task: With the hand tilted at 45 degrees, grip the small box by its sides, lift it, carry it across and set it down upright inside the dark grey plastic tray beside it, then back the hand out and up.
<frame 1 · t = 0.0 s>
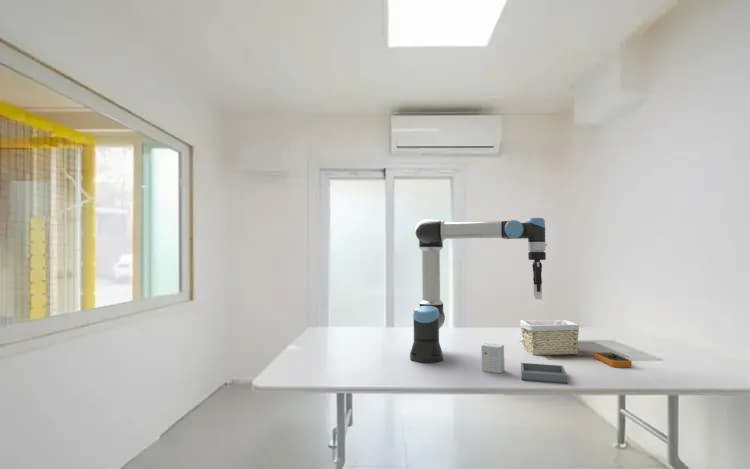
hand: (537, 297, 198), 28 cm above the table, tool pointing down, fingers open, 13 cm apart
tray: (542, 376, 169), on the table
storage basket: (549, 352, 212), on the table
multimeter: (612, 364, 191), on the table
small box: (493, 371, 178), on the table
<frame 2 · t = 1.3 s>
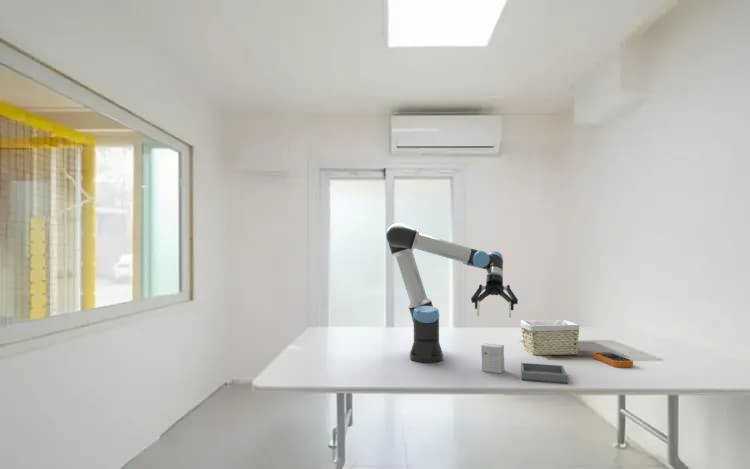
hand: (493, 314, 190), 21 cm above the table, tool tilted 45°, fingers open, 13 cm apart
nothing on the table moved.
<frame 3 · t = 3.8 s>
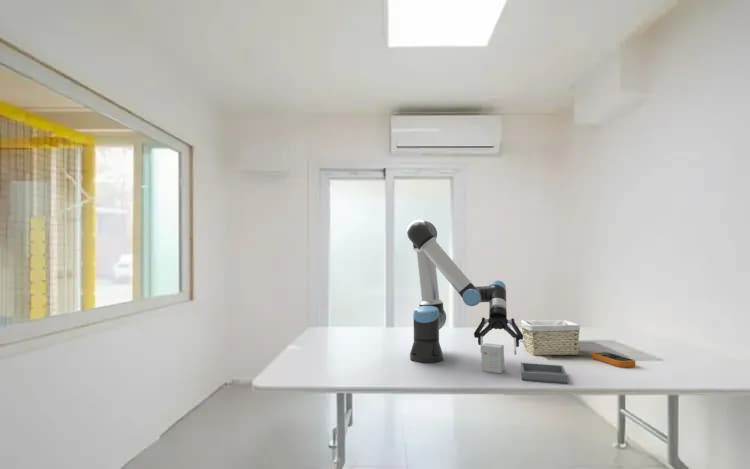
hand: (498, 352, 180), 7 cm above the table, tool tilted 45°, fingers open, 13 cm apart
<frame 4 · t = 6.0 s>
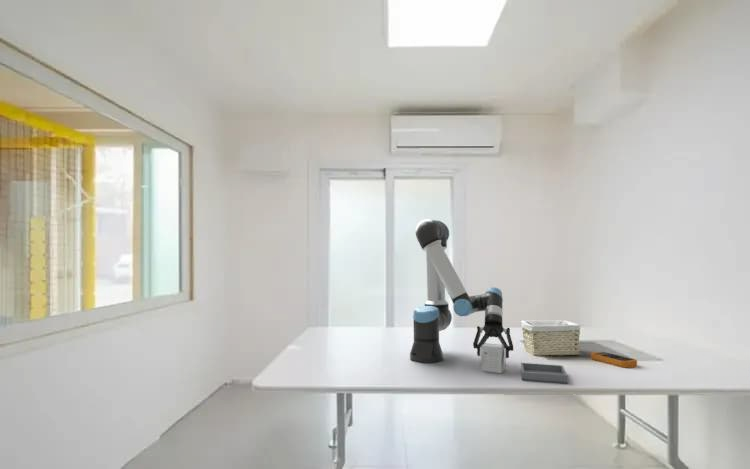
hand: (492, 363, 175), 4 cm above the table, tool tilted 45°, fingers closed on small box, 9 cm apart
small box: (493, 371, 178), on the table, touching gripper
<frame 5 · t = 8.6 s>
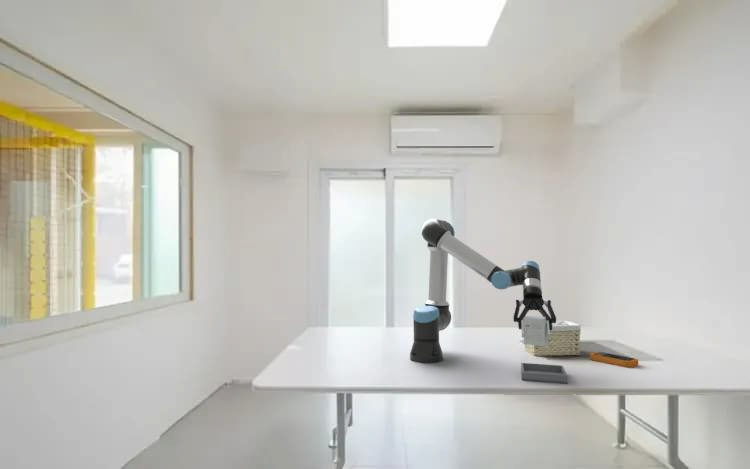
hand: (535, 335, 168), 16 cm above the table, tool tilted 45°, fingers closed on small box, 9 cm apart
small box: (535, 344, 171), point 12 cm above the table, touching gripper
when the fingers open (6 cm above the table, at t = 11.4 s): small box drops 1 cm, resting on tray.
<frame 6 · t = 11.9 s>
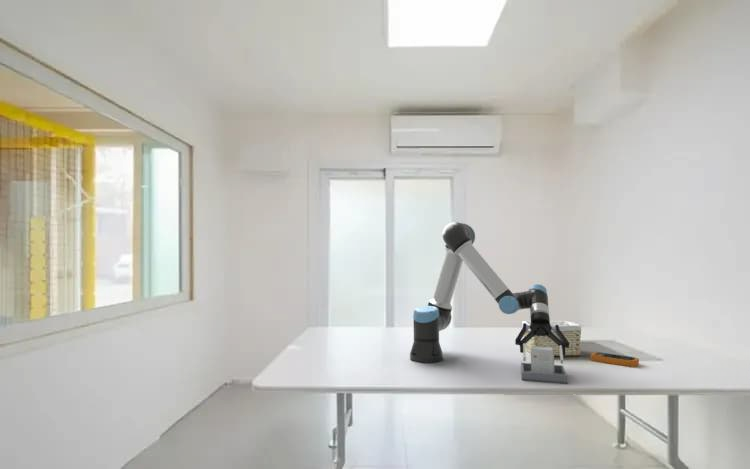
hand: (543, 360, 167), 7 cm above the table, tool tilted 45°, fingers open, 13 cm apart
small box: (542, 375, 170), resting on tray
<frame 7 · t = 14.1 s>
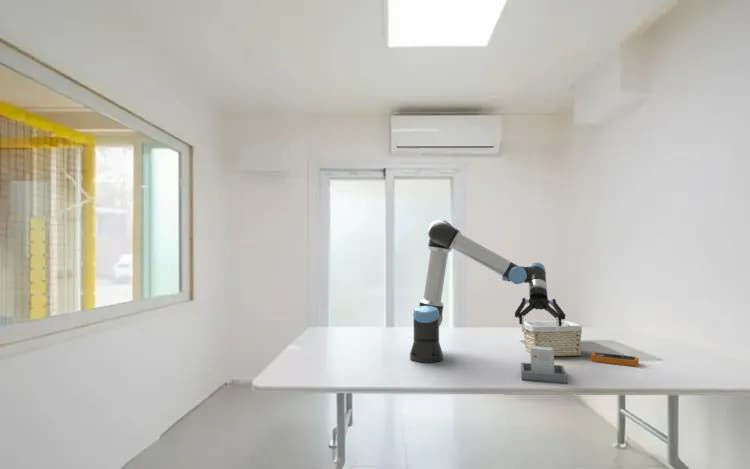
hand: (540, 331, 180), 16 cm above the table, tool tilted 45°, fingers open, 13 cm apart
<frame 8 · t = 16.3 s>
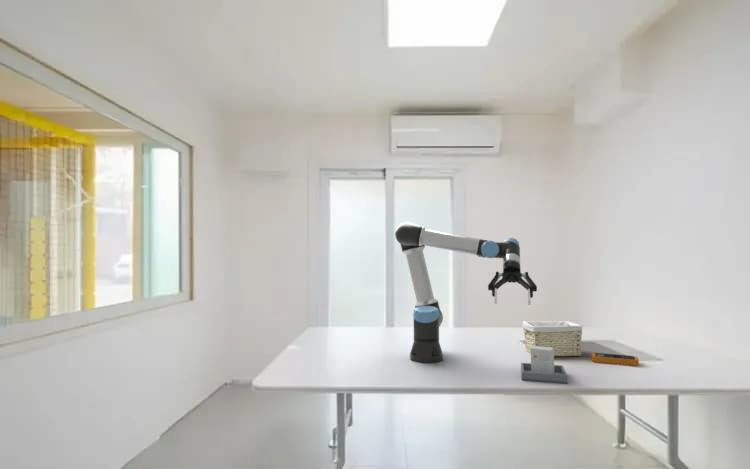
hand: (512, 302, 182), 28 cm above the table, tool tilted 45°, fingers open, 13 cm apart
at the end: small box inside the target area on the tray (0.1 cm from its centre), point 0.4 cm above the tray's base; small box tilted 0°; the gripper is holding nothing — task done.
